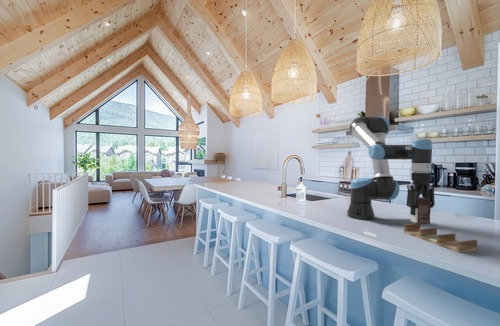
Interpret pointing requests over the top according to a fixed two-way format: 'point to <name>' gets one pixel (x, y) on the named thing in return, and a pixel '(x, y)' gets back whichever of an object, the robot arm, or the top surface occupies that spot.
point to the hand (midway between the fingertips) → (420, 221)
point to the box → (423, 211)
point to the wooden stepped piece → (440, 238)
